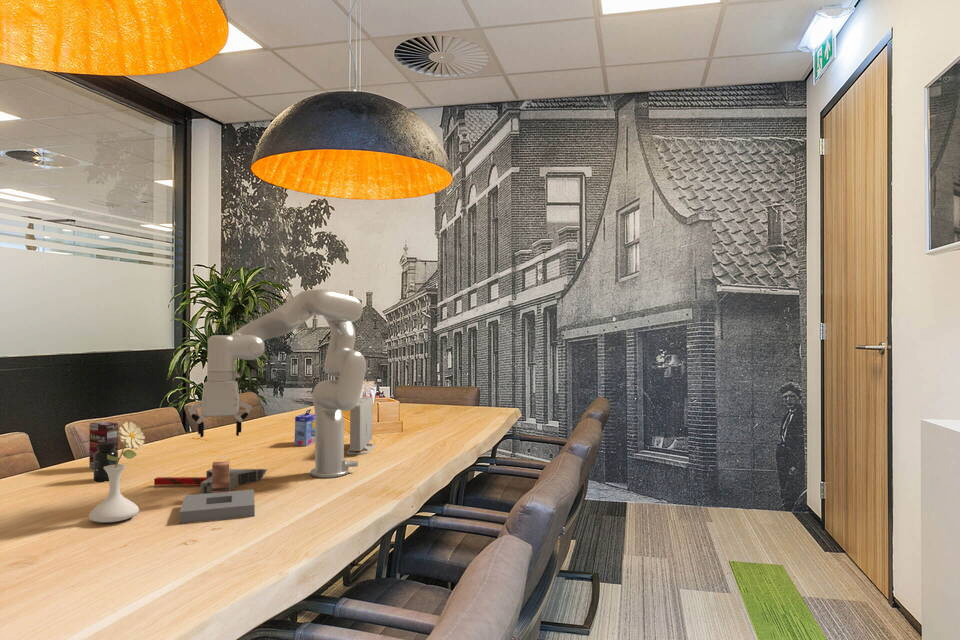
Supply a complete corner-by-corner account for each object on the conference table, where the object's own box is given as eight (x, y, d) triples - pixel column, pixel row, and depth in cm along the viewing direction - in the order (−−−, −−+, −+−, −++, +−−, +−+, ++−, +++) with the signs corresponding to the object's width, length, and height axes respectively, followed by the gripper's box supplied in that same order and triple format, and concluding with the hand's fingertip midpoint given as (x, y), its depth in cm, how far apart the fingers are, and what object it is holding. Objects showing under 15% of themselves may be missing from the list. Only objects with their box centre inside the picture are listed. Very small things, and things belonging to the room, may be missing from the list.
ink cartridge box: (306, 446, 256) (306, 411, 256) (293, 446, 257) (294, 411, 257) (316, 442, 266) (316, 408, 266) (304, 441, 266) (304, 407, 266)
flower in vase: (102, 529, 154) (103, 428, 154) (79, 521, 160) (80, 424, 160) (154, 515, 165) (154, 421, 165) (130, 508, 171) (131, 417, 171)
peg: (229, 494, 185) (229, 461, 185) (229, 498, 181) (229, 464, 181) (212, 496, 183) (212, 462, 183) (211, 500, 179) (211, 465, 179)
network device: (365, 456, 238) (365, 404, 238) (342, 456, 238) (343, 404, 238) (377, 443, 263) (377, 396, 263) (356, 443, 263) (357, 396, 263)
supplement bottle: (88, 480, 200) (89, 443, 200) (110, 476, 206) (110, 440, 206) (101, 483, 197) (101, 445, 197) (122, 478, 203) (122, 442, 203)
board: (253, 499, 180) (253, 489, 180) (254, 516, 165) (254, 504, 165) (185, 506, 173) (185, 495, 173) (179, 523, 158) (179, 511, 158)
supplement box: (88, 468, 216) (88, 423, 216) (101, 465, 220) (101, 421, 220) (105, 471, 213) (105, 424, 213) (118, 468, 217) (118, 422, 217)
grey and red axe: (177, 464, 209) (267, 464, 210) (177, 475, 209) (267, 475, 210) (140, 482, 185) (241, 482, 186) (140, 495, 185) (241, 495, 186)
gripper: (252, 376, 189) (251, 432, 188) (189, 376, 182) (188, 435, 182) (252, 378, 182) (251, 436, 181) (187, 378, 175) (186, 439, 175)
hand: (219, 435), depth 182 cm, fingers open, 9 cm apart
